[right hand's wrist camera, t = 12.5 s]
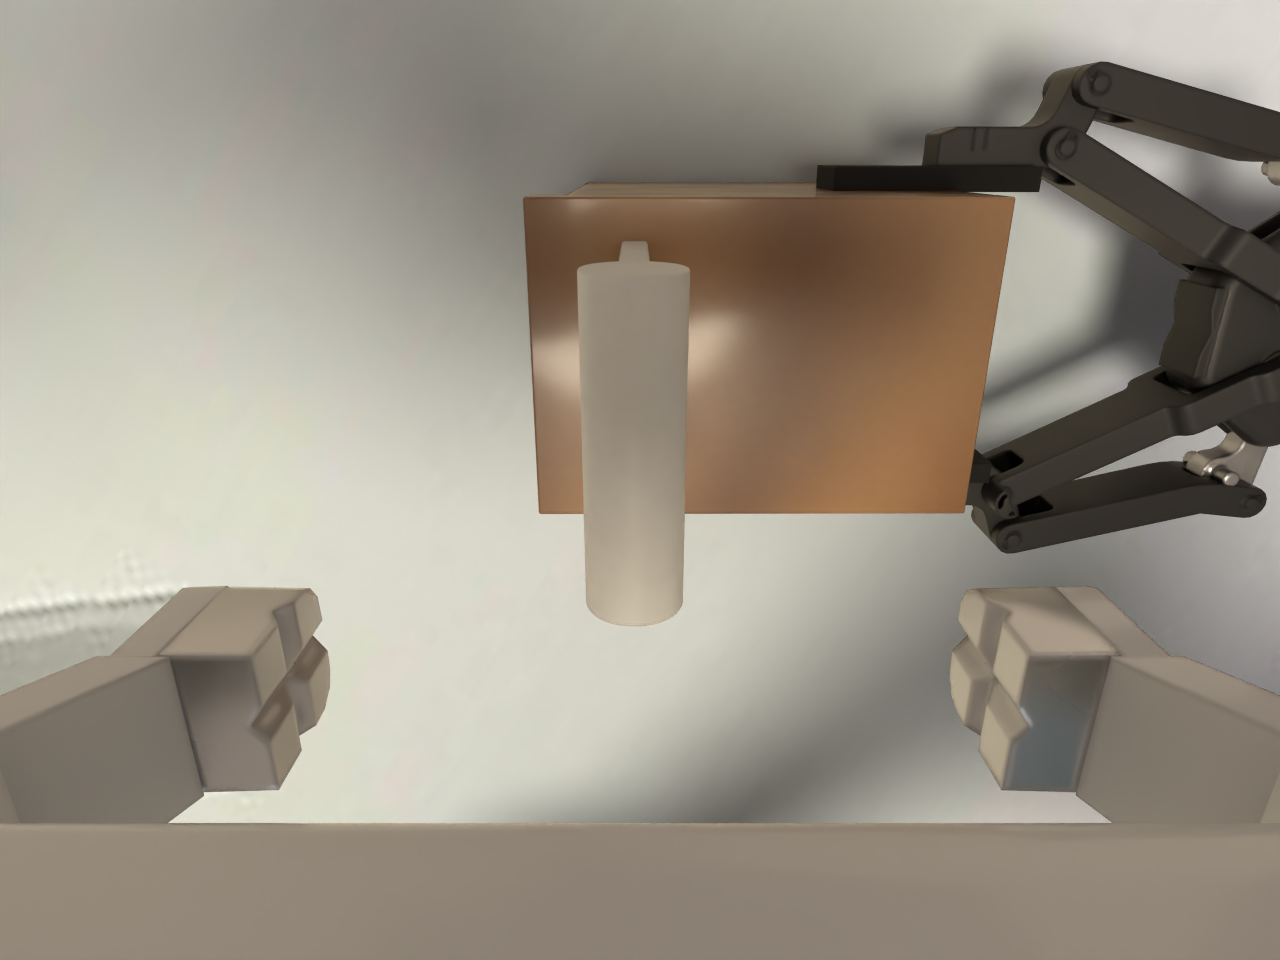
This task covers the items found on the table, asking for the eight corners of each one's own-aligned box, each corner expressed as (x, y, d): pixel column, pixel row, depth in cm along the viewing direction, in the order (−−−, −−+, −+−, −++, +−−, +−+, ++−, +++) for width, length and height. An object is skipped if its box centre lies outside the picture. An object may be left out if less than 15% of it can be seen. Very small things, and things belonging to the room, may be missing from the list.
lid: (542, 498, 26) (497, 666, 17) (528, 195, 23) (462, 217, 14) (950, 498, 26) (1103, 665, 18) (997, 195, 23) (1217, 217, 14)
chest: (591, 401, 36) (574, 498, 26) (586, 182, 33) (564, 194, 23) (860, 401, 36) (950, 497, 26) (883, 182, 33) (996, 194, 23)
